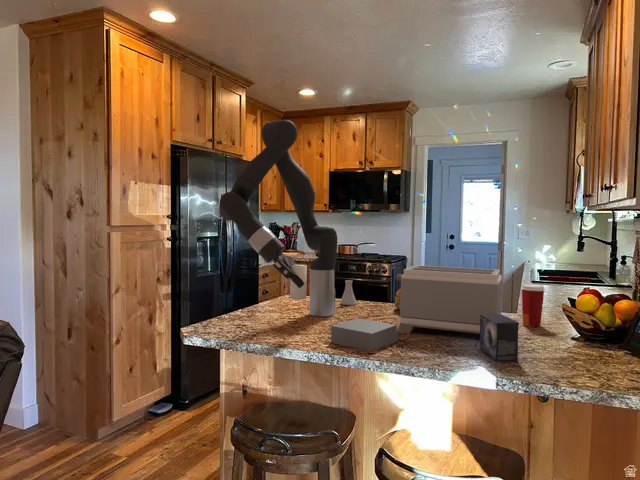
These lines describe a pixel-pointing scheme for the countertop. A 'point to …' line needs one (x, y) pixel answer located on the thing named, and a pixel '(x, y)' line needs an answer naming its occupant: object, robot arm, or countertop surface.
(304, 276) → the beige piece
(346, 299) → the flask
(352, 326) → the plinth
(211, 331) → the countertop surface
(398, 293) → the burger
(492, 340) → the small box
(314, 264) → the robot arm
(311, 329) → the countertop surface
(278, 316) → the countertop surface
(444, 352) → the countertop surface
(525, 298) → the paper cup
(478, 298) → the toaster
